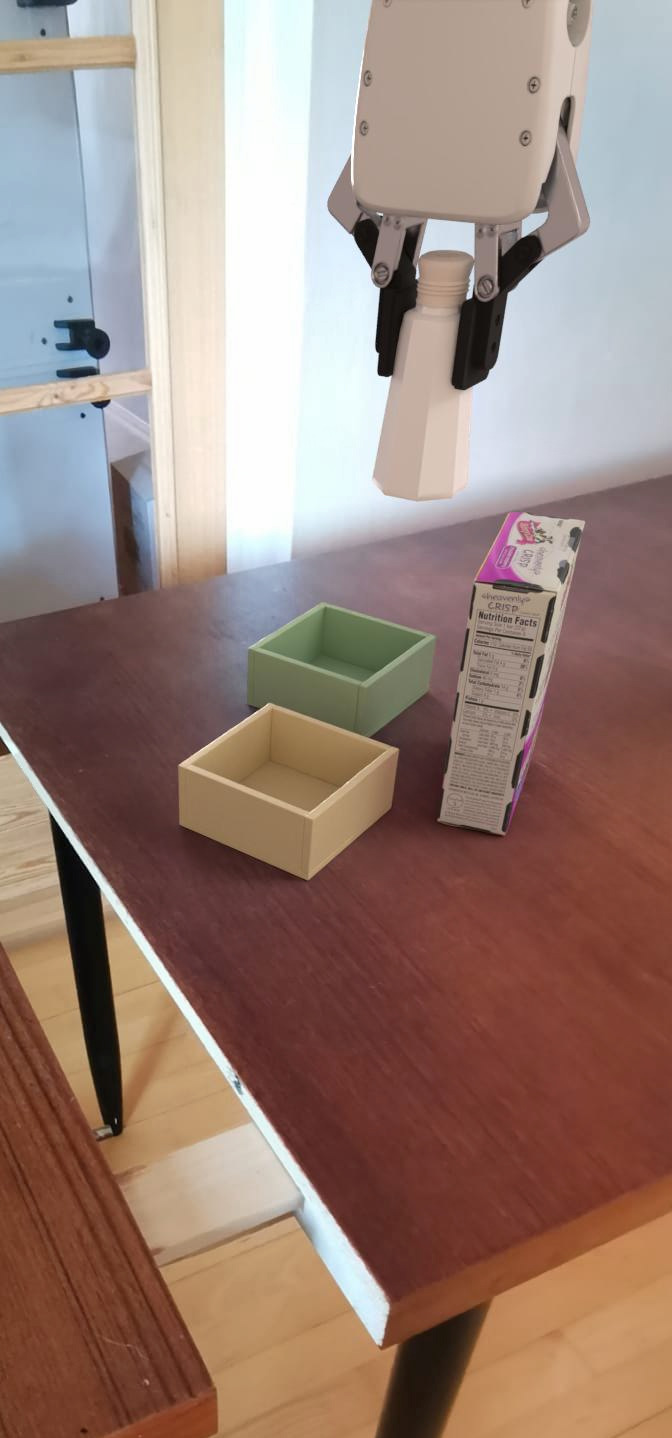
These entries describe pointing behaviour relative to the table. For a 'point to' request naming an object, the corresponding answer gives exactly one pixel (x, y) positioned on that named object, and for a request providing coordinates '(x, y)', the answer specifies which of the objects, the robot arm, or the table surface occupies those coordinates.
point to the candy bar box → (507, 668)
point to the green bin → (341, 668)
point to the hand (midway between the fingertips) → (432, 373)
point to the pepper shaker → (428, 390)
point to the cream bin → (287, 789)
